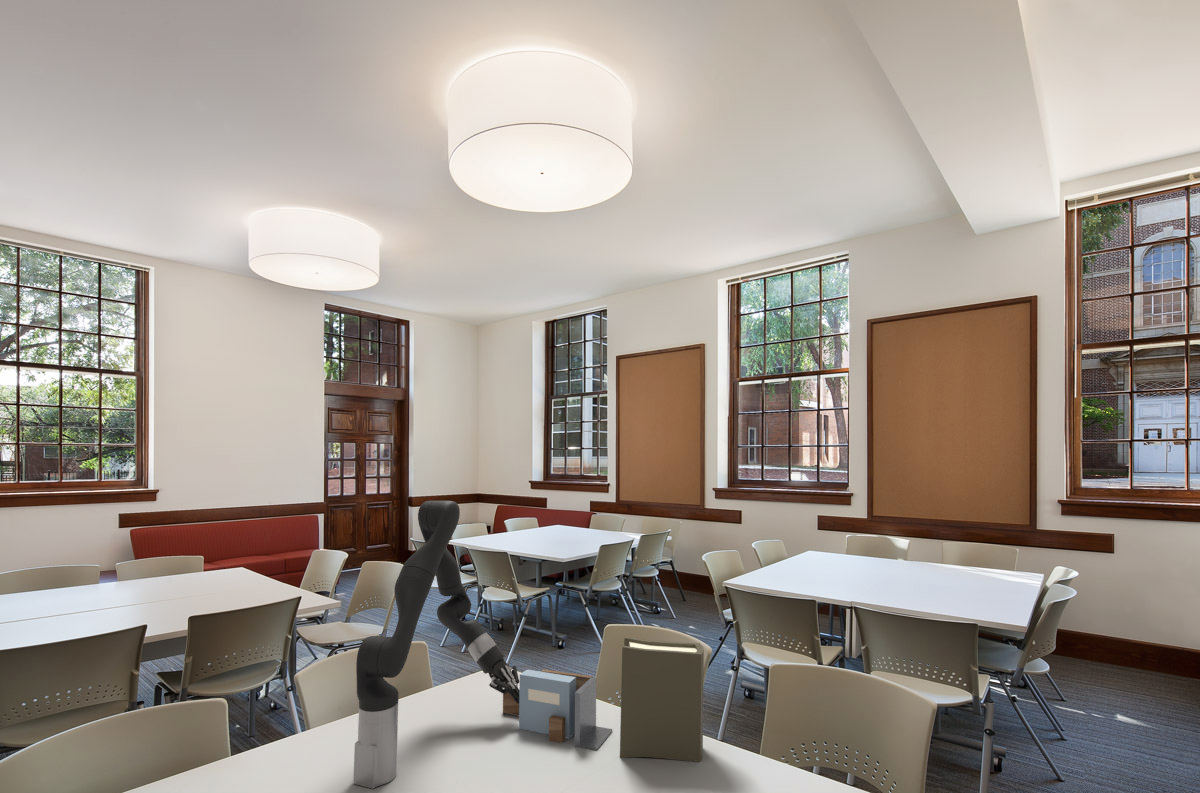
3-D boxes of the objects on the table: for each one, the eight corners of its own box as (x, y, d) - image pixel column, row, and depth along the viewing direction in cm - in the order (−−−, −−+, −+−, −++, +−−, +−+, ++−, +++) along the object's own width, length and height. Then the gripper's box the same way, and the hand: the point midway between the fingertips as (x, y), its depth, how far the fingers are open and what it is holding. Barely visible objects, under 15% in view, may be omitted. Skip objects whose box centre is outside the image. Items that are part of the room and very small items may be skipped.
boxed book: (568, 738, 169) (569, 682, 170) (518, 728, 175) (519, 674, 176) (575, 731, 173) (576, 677, 174) (526, 722, 179) (527, 669, 180)
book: (701, 747, 165) (702, 641, 168) (703, 764, 156) (704, 652, 158) (622, 740, 168) (624, 636, 170) (619, 757, 158) (622, 647, 161)
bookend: (596, 750, 162) (596, 696, 163) (574, 746, 164) (574, 692, 166) (612, 731, 173) (612, 680, 174) (591, 727, 176) (591, 677, 177)
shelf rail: (575, 745, 165) (575, 691, 166) (483, 728, 175) (484, 677, 177) (592, 726, 176) (592, 676, 178) (505, 710, 187) (505, 663, 188)
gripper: (482, 651, 176) (518, 701, 171) (504, 638, 189) (539, 684, 183) (466, 667, 178) (501, 718, 172) (489, 653, 190) (523, 700, 185)
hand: (521, 700), depth 178 cm, fingers closed
